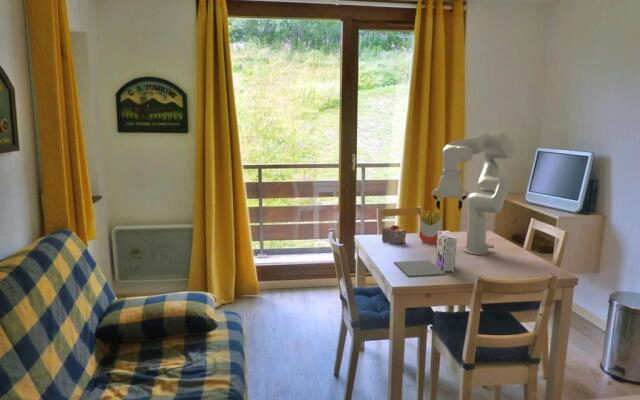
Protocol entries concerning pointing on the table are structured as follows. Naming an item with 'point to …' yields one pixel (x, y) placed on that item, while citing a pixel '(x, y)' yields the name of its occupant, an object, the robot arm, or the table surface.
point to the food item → (393, 235)
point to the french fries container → (430, 227)
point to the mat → (419, 268)
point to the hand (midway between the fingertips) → (448, 209)
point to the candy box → (446, 251)
